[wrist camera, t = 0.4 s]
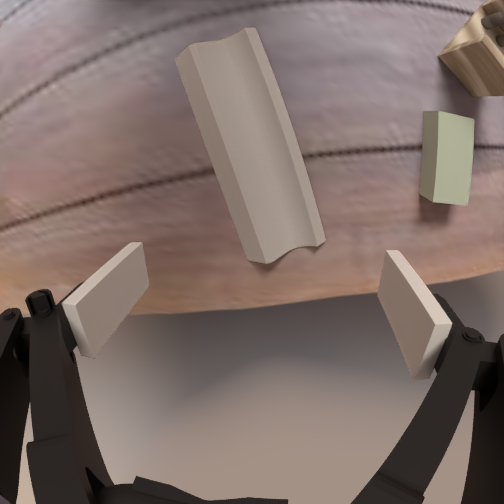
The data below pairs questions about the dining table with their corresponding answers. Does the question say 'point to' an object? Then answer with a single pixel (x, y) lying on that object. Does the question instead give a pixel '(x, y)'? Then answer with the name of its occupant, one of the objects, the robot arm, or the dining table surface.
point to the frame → (479, 51)
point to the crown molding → (251, 144)
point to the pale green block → (446, 157)
